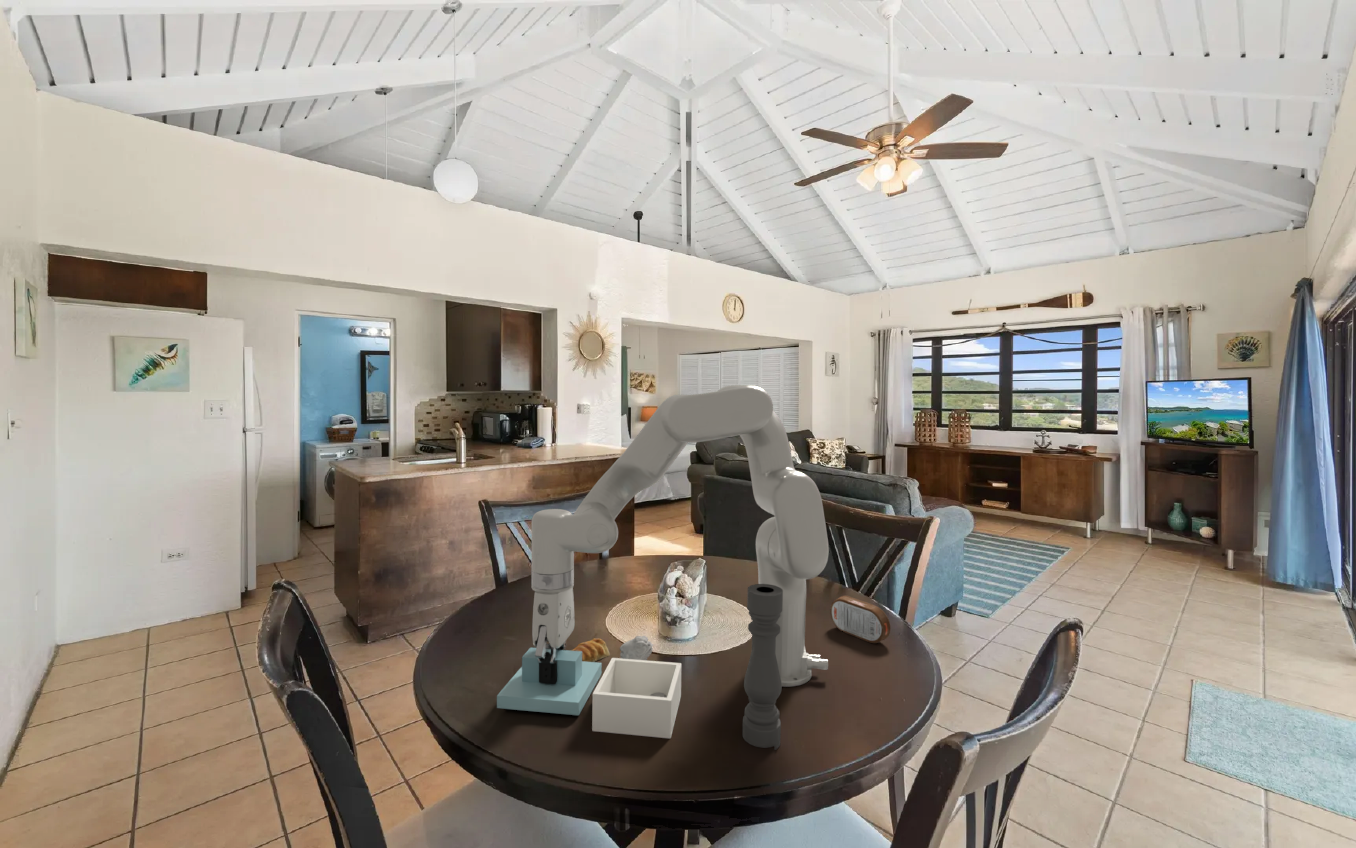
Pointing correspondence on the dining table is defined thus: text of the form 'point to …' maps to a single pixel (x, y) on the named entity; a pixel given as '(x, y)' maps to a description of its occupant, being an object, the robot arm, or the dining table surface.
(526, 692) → the lid
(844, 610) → the tin
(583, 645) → the pastry
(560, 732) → the dining table surface
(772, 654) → the candle holder
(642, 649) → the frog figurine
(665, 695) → the nut
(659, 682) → the tub
